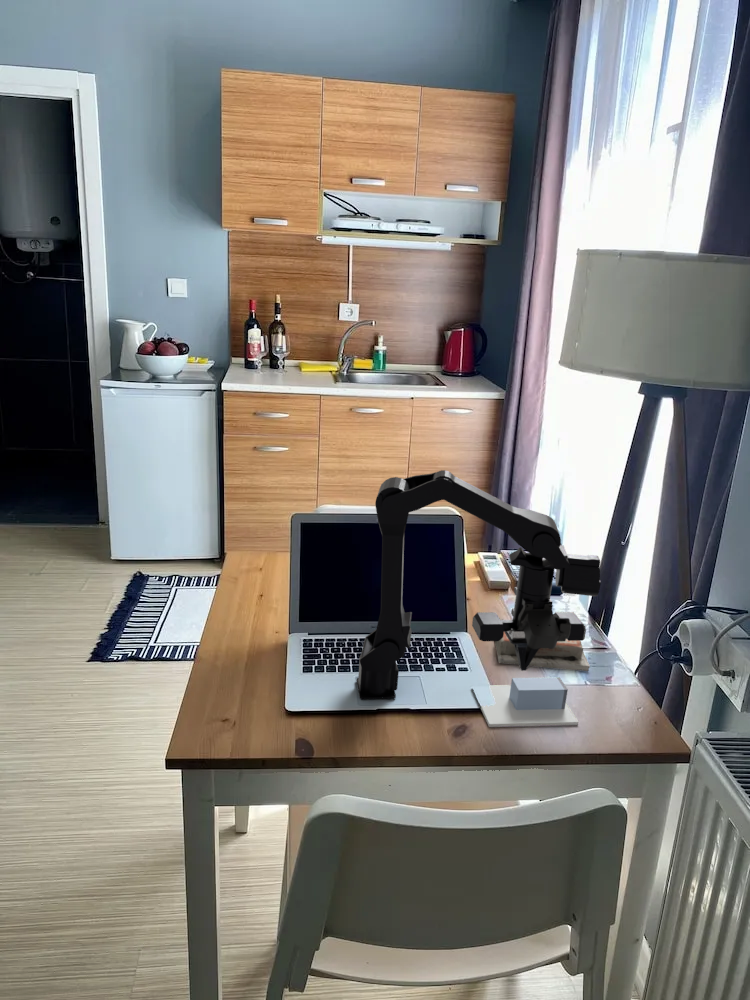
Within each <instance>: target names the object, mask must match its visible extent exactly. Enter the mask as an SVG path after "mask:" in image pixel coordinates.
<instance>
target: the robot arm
mask: <svg viewBox="0 0 750 1000" xmlns="http://www.w3.org/2000/svg"><path fill="white" fill-rule="evenodd" d="M440 501H446V502H448V503H449V504H451V505H453V506H455V507H457V508H459V509H461V510H463V511H465V512H466V513H468V514H471V515H472V516H473V517H476V518H478V519H480V520H481V521H484V522H485V523H487V524H489V525H491V526H494V527H496V528H497V529H499V530H501V531H503V532H504V533H506V534H507V535H508V536H509V537H510V538H511V539H512V540H513V541H514V542H515V543H516V544H517V545H518V546H519V548H518V549H516V550H515V551H513V552H511V553H510V554H509V562H510V563H509V564H510V565H511V566H519V569H518V570H519V572H518V576H517V577H518V579H517V584H516V585H517V586H514V590H513V593H514V595H515V599H514V607H511V613H510V614H511V616H512V619H500V617H499V615H498V614H497V612H495V611H494V612H493V611H488V612H485V611H483V612H480V611H479V612H476V613H475V615H474V616H473V617H472V621H471V622H472V623H471V626H472V628H473V631H474V632H475V634H476V635H477V638H478V640H479V641H482V642H495V641H499V640H500V639H502V638H503V635H504V632H505V634H506V636H507V637H508V639H509V641H510V642H511V643H512V644H514V648H515V652H516V655H517V659H518V663H519V665H518V666H519V669H520V671H522V672H523V671H527V669H528V668H529V667H530V666H529V664H530V662H531V661H532V659H533V657H534V656H535V654H536V653H537V651H538V650H539V649H540V648H548V649H553V648H555V647H556V644H557V641H566V639H568V641H581V642H582V641H583V642H584V640H585V639H586V633H587V629H586V625H585V623H583V622H582V620H581V619H580V618H579V617H578V615H577V614H576V613H575V612H574V611H573V612H572V611H555V612H554V613H553V600H552V599H551V594H552V589H553V588H552V587H553V581H554V575H555V587H559V588H560V592H561V593H562V594H567V595H569V594H570V595H579V596H590V597H598V595H599V593H600V589H601V585H602V583H601V568H600V564H601V560H600V557H599V556H598V555H593V554H592V555H591V554H590V555H589V554H588V555H583V554H582V555H581V554H572V553H567V551H566V549H565V546H564V545H563V544H562V539H561V538H562V537H561V535H560V531H559V530H558V526H557V523H556V521H555V520H554V519H553V518H552V517H551V516H550V515H547V514H544V513H542V512H538V511H535V510H532V509H528V508H519V507H516V506H514V505H511V504H509V503H507V502H505V501H503V500H501V499H499V498H498V497H495V496H494V495H492V494H490V493H488V492H486V491H484V490H483V489H480V488H479V487H477V486H474V485H473V484H471V483H469V482H467V481H465V480H463V479H461V478H459V477H457V476H456V475H454V474H453V473H452V472H451V471H448V470H442V469H441V470H439V471H436V472H432V473H426V474H424V473H423V474H415V475H412V476H409V477H404V478H402V477H398V476H395V477H394V476H393V477H390V478H388V479H387V478H386V479H385V480H384V481H383V482H382V483H381V485H380V487H379V490H378V492H377V495H376V499H375V505H374V506H375V511H376V518H377V523H378V525H379V531H380V533H381V569H380V570H381V576H380V613H379V616H378V621H377V627H376V629H375V630H373V631H372V632H370V633H369V634H368V635H365V638H364V641H363V646H362V650H361V654H360V655H359V663H358V677H357V678H356V680H355V681H356V686H357V691H358V696H359V699H360V700H392V699H391V698H395V699H396V697H397V695H396V694H397V693H396V691H397V690H398V685H399V684H398V683H399V671H400V670H399V668H398V665H397V661H399V660H400V659H402V658H403V657H405V653H406V649H410V646H411V638H412V631H413V630H412V627H411V623H412V622H411V621H412V615H413V612H412V611H409V612H405V609H404V605H403V593H404V591H403V589H404V585H403V584H404V561H405V560H404V558H405V557H404V556H405V555H404V553H405V552H404V551H405V531H406V528H407V522H408V518H409V514H410V513H411V512H415V511H418V510H421V509H423V508H425V507H427V506H430V505H431V504H434V503H436V502H440ZM523 549H524V550H523ZM555 570H556V571H555Z"/></svg>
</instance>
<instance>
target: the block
mask: <svg viewBox="0 0 750 1000" xmlns="http://www.w3.org/2000/svg"><path fill="white" fill-rule="evenodd" d="M510 685H511V689H510V696H509V698H510V699H511V701H512V703H513V705H514V707H515V709H516V710H539V709H565V703H567V695H568V690H569V689H568V688H567V686H566V685H565V683H564V682H563V680H562V679H561V677H560V676H559V677H558V676H557V677H555V676H554V677H552V676H551V677H512V678H511V683H510Z"/></svg>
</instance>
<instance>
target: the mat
mask: <svg viewBox="0 0 750 1000" xmlns="http://www.w3.org/2000/svg"><path fill="white" fill-rule="evenodd" d="M489 685H490V688H491V690H492V693H493V696H494V698H495V702H496V704H495V705H494V706H489V707H488V706H487V705H486V706H485V707H484V706H481V708H480V711H481V712H482V715H483V717H484V718H485V719H484V720H485V722H486V723H487V726H488V727H489V728H504V727H505V728H507V727H508V728H509V727H513V728H514V727H539V726H540V727H542V726H544V727H545V726H547V727H548V726H549V727H552V726H554V727H555V726H579V720H578V719H577V716H575V714H574V712H573V711H572V710H571V708H570V706H569V705H568V704H567V702H566V703H565V709H539V710H516V709H515V707H514V705H513V703H512V701H511V699H510V698H509V696H510V689H511V684H496V685H492V684H489Z"/></svg>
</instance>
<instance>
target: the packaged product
mask: <svg viewBox="0 0 750 1000" xmlns="http://www.w3.org/2000/svg"><path fill="white" fill-rule="evenodd" d="M494 644H495V650H496V655H497V661H498V663H499V664H509V665H518V666H519V663H518V659H517V655H516V652H515V648H514V644H512V643H511V642H510V641H509V639H508V637H507V636H506V634H505V632H504V635H503V638H502V639H500V640H499V641H494ZM584 652H585V651H584V648H583V645H582V641H568V639H566V641H557V644H556V647H555V648H553V649H548V648H540V649H539V650H538V651H537V653H536V654H535V656H534V657H533V659H532V661H531V662H530V664H529V666H528V667H535V668H546V669H557V670H558V669H559V670H570V671H583V672H587V671H589V669H590V668H591V665H590V663H589V661H588V659H587V657H586V655H585V653H584Z"/></svg>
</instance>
